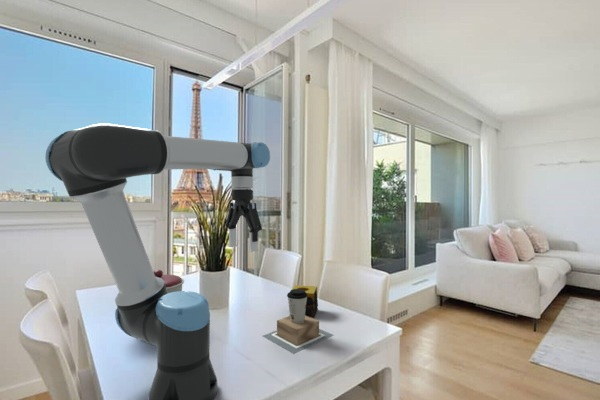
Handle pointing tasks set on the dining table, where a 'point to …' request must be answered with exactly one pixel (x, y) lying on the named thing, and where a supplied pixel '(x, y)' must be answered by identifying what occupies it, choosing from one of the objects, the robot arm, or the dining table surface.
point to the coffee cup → (297, 305)
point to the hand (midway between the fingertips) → (242, 248)
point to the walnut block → (298, 330)
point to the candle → (310, 299)
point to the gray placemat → (293, 347)
